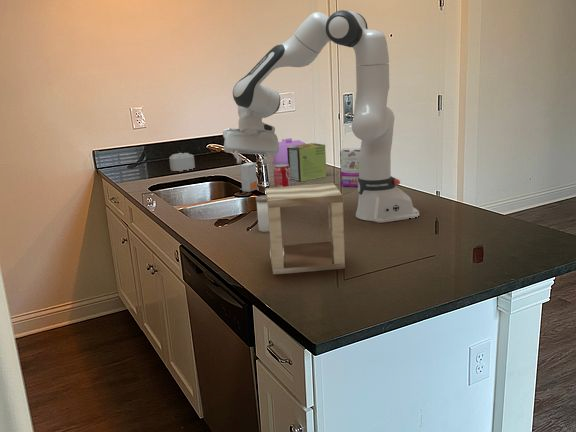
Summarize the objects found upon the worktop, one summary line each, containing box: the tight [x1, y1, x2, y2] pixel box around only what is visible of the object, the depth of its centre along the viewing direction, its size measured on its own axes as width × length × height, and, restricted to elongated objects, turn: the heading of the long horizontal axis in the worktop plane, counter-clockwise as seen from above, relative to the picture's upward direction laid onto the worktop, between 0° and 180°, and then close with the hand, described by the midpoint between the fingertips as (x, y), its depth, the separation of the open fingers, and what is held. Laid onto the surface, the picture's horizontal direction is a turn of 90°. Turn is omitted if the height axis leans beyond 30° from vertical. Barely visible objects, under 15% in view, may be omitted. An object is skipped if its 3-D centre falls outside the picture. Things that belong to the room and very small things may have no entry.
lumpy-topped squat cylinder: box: [168, 152, 196, 172], centre depth 319 cm, size 10×13×9 cm
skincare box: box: [240, 162, 258, 193], centre depth 260 cm, size 6×4×12 cm
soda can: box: [273, 164, 292, 188], centre depth 248 cm, size 7×7×13 cm
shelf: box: [265, 182, 346, 275], centre depth 167 cm, size 17×20×21 cm
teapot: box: [272, 138, 307, 165], centre depth 315 cm, size 15×25×14 cm, turn 15°
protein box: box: [287, 142, 327, 183], centre depth 278 cm, size 10×15×16 cm
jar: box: [255, 194, 269, 233], centre depth 201 cm, size 5×5×12 cm
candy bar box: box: [339, 148, 361, 188], centre depth 256 cm, size 11×5×16 cm, turn 68°
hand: (252, 163), depth 212 cm, fingers open, 8 cm apart
